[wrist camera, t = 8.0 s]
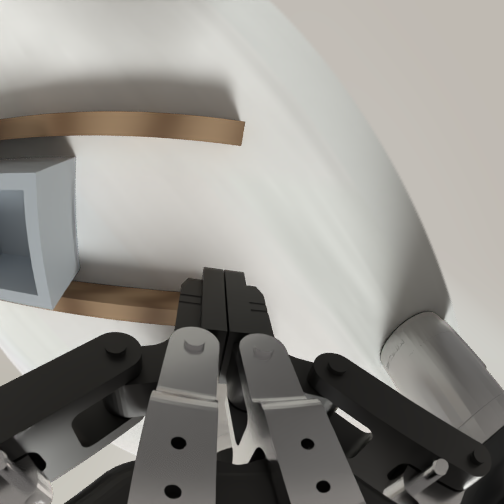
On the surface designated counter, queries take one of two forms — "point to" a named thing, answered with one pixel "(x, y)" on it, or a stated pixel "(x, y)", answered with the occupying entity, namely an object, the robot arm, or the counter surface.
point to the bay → (122, 124)
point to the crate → (37, 229)
